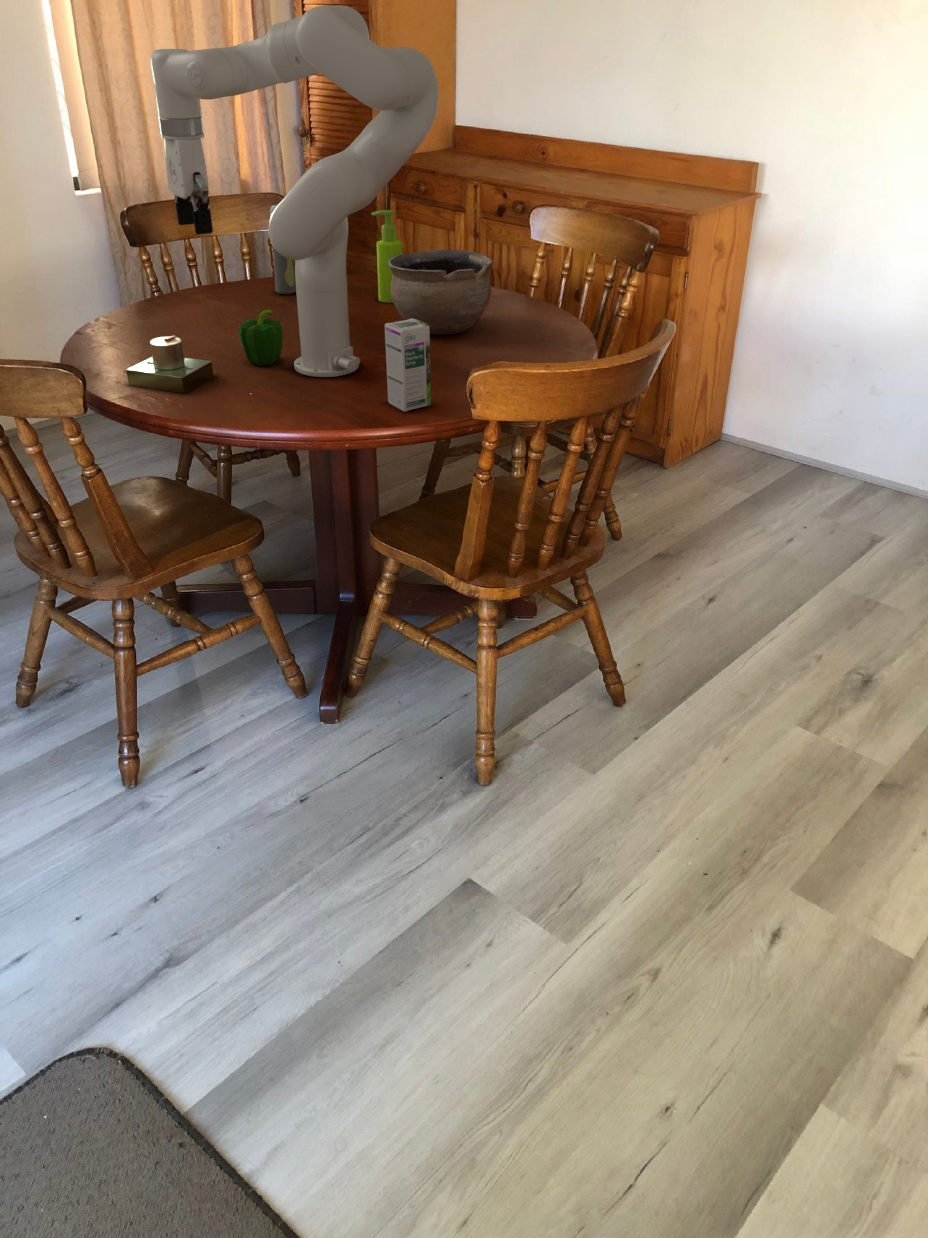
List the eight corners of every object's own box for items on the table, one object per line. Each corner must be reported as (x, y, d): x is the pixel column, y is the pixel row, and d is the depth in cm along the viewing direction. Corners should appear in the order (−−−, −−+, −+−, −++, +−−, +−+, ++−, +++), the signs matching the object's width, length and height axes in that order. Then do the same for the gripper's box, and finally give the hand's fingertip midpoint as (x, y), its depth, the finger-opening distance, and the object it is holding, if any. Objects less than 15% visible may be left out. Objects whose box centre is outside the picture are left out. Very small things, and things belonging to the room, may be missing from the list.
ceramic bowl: (430, 351, 199) (430, 276, 191) (370, 326, 213) (367, 255, 205) (511, 332, 211) (513, 260, 203) (448, 310, 225) (449, 242, 217)
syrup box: (404, 412, 170) (402, 329, 162) (386, 402, 174) (384, 321, 166) (431, 406, 173) (430, 324, 165) (413, 396, 177) (411, 316, 169)
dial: (173, 371, 178) (169, 345, 175) (147, 367, 180) (143, 341, 177) (190, 362, 182) (187, 336, 180) (165, 358, 184) (161, 333, 181)
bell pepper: (245, 370, 188) (239, 318, 183) (240, 357, 195) (235, 307, 189) (288, 367, 190) (283, 315, 185) (282, 354, 197) (278, 304, 191)
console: (213, 376, 185) (211, 360, 183) (184, 393, 177) (181, 376, 175) (160, 368, 188) (157, 352, 187) (128, 385, 180) (125, 368, 179)
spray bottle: (271, 292, 236) (263, 204, 226) (286, 288, 240) (278, 201, 229) (285, 295, 234) (278, 207, 223) (300, 291, 237) (293, 204, 226)
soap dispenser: (371, 297, 233) (367, 209, 222) (397, 295, 236) (395, 207, 225) (379, 304, 229) (376, 213, 218) (406, 301, 231) (405, 211, 220)
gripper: (146, 124, 179) (161, 222, 188) (177, 134, 167) (191, 239, 176) (186, 122, 182) (199, 218, 192) (218, 132, 170) (230, 234, 179)
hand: (195, 228), depth 184 cm, fingers open, 9 cm apart
